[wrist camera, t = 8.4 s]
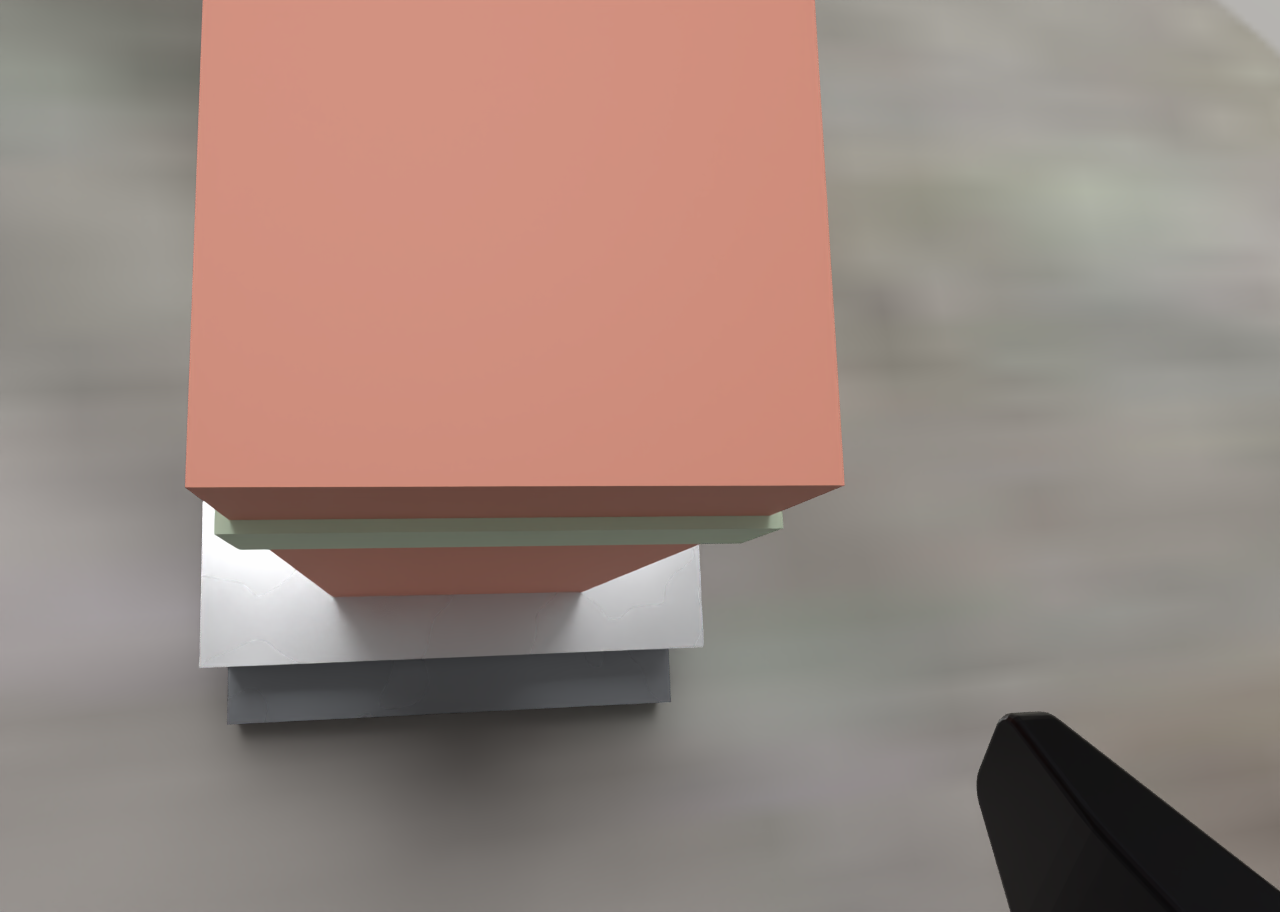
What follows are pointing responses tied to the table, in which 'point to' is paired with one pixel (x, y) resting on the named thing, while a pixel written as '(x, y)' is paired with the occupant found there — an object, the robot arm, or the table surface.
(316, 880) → the table surface
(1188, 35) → the table surface
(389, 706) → the stand base
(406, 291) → the salmon pink rectangular block
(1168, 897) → the robot arm
